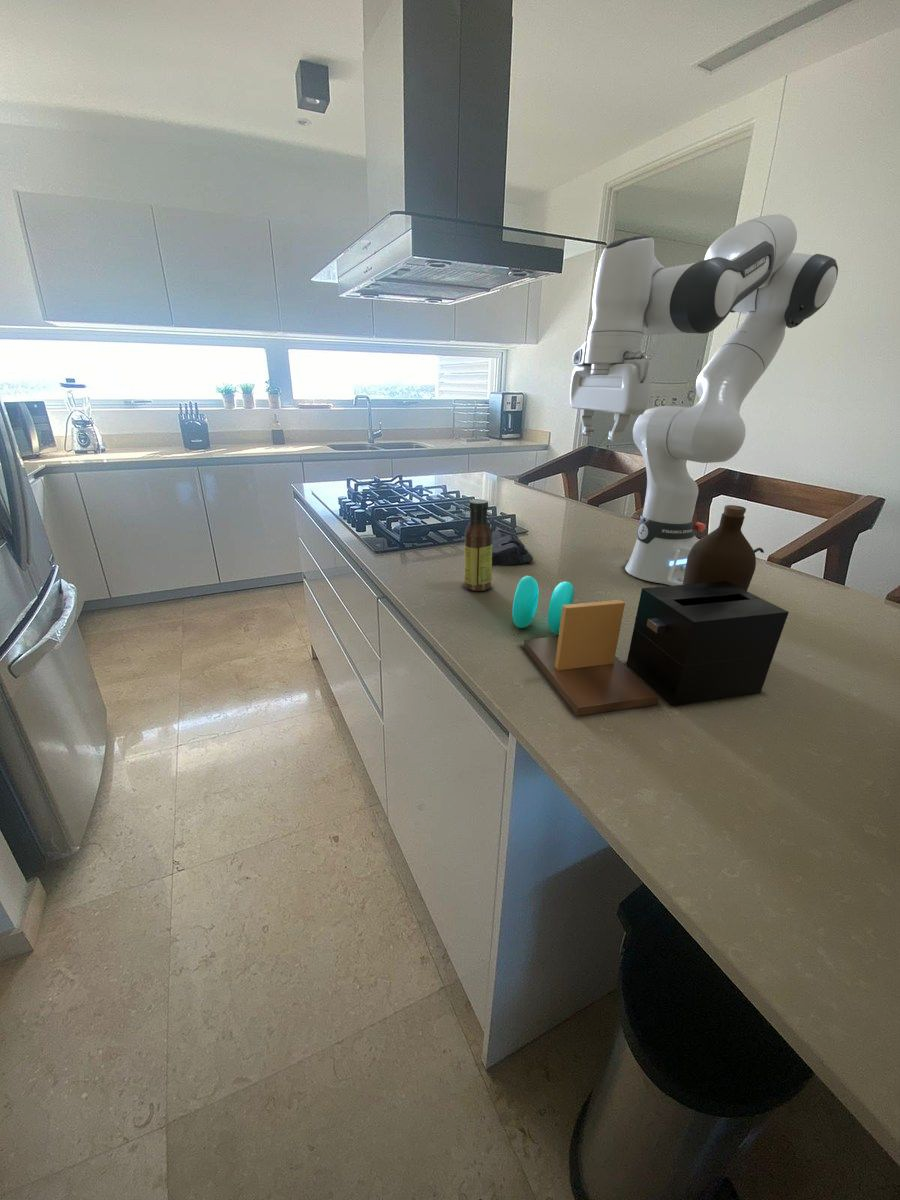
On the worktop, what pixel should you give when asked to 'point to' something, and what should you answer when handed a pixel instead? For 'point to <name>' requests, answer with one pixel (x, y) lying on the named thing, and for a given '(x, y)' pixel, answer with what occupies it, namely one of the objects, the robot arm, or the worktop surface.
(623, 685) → the cutting board
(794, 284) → the robot arm
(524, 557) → the dark slate chunk
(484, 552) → the sauce bottle
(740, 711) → the worktop surface
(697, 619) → the toaster
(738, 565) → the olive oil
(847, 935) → the worktop surface
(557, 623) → the turquoise disc pair
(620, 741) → the worktop surface
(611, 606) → the toast
